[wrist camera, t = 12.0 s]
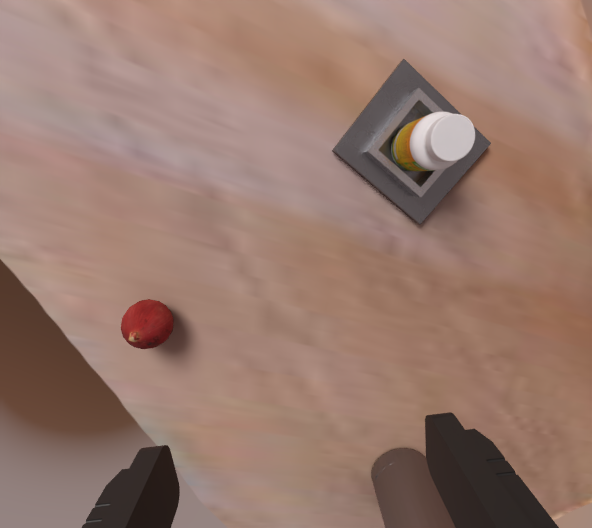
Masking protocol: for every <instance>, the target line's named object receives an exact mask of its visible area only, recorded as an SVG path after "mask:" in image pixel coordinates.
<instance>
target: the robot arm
mask: <svg viewBox="0 0 592 528" xmlns="http://www.w3.org/2000/svg"><path fill="white" fill-rule="evenodd" d="M425 432H426V458H425V457H424V455H422V454H421V453H420V452H418V451H415V450H413V449H408V448H400V449H394V450H391V451H389V452H387V453H385V454H383V455H382V456H381V457H379V458H378V460H377V461H376V462H375V464H374V466H373V468H372V472H371V478H372V481H373V485H374V489H375V492H376V496H377V500H378V504H379V507H380V511H381V514H382V518H383V521H384V525H385V528H559V527H558V526H557V525H556V524H555V522H554V521H553V520H552V518H551V517H550V516H549V514H548V513H547V512H546V511H545V509H544V508H543V507H542V505H541V504H540V503H539V502H538V500H537V499H536V498H535V496H534V495H533V494H532V493H531V491H530V490H529V489H528V487H527V486H526V485H525V483H524V482H523V481H522V480H521V478H520V477H519V476H518V475H516V473H515V471H514V469H513V468H512V467H511V465H510V464H509V463H508V462H507V461H505V458H504V456H503V455H502V454H501V452H500V451H499V450H498V449H497V447H496V446H495V445H494V443H493V442H492V441H491V440H489V439H488V438H486V437H485V436H484V435H482V434H481V433H480V432H478V431H477V430H475V429H470V430H465V429H464V428H463V426H462V425H461V424H460V422H459V421H458V419H457V418H456V417H455V415H454V414H453V413H442V414H433V415H427V416H426V418H425ZM178 502H179V482H178V478H177V474H176V470H175V467H174V463H173V459H172V455H171V451H170V448H169V447H168V446H167V445H164V446H155V447H147V448H142V449H140V450H139V452H138V454H137V455H136V457H135V459H134V461H133V463H132V465H131V466H130V468H129V469H122V470H121V471H120V472H119V473H118V474H117V475H116V476H115V477H114V478H113V479H112V480H111V482H110V483H108V485H107V486H106V487H105V489H104V490H103V492H102V494H101V496H100V497H99V499H98V501H97V502H96V504H95V508H93V509H92V511H91V513H90V514H89V516H88V518H87V519H86V524H84V525H83V526H82V528H171V524H172V522H173V519H174V516H175V513H176V510H177V507H178Z"/></svg>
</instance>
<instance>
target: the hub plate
mask: <svg viewBox="0 0 592 528" xmlns="http://www.w3.org/2000/svg"><path fill="white" fill-rule="evenodd" d="M435 112H449V113H452V114H460V113H459V112H458V111H457V110H456V109H455V108H454V107H453V106H452V105H451V104H450V103H449V102H448V101H447V100H446V99H445V98H444V97H443V96H442V95H441V94H440V93H439V92H438V91H437V90H436V89H435V88H433V87H432V86H431V85H430V84H429V83H428V82H427V81H426V80H425V79H424V78H423V77H422V76H421V75H420V74H419V73H418V72H417V71H416V70H415V69H414V68H413V67H412V66H411V65H410V64H409V63H408V62H407V61H406V60H405V59H403V60H402V61H401V62H400V63H399V65H398V66H397V67H396V69H395V70H394V71H393V72H392V74H391V75H390V76H389V78H388V79H387V80H386V81H385V83H384V84H383V85H382V87H381V88H380V89H379V90H378V92H377V93H376V94H375V96H374V97H373V98H372V100H371V101H370V102H369V103H368V105H367V106H366V107H365V109H364V110H363V111H362V112H361V114H360V115H359V116H358V118H357V119H356V120H355V122H354V123H353V124H352V125H351V127H350V128H349V129H348V131H347V132H346V133H345V134H344V136H343V137H342V138H341V140H340V141H339V142H338V143H337V145H336V146H335V147H334V149H333V150H332V151H333V152H334V153H335V154H337V155H338V156H339V157H340V158H341V159H343V160H344V161H345V162H346V163H347V164H348V165H350V166H351V167H352V168H353V169H354V170H355V171H357V172H358V173H359V174H360V175H361V176H362V177H364V178H365V179H366V180H367V181H368V182H369V183H371V184H372V185H373V186H374V187H375V188H376V189H378V190H379V191H380V192H381V193H382V194H383V195H385V196H386V197H387V198H388V199H389V200H390V201H392V202H393V203H394V204H395V205H396V206H397V207H399V208H400V209H401V210H402V211H403V212H404V213H406V214H407V215H408V216H409V217H410V218H412V219H413V220H414V221H415V222H416V223H418V224H421V223H422V222H423V220H424V219H425V218H426V217H427V216H428V215H429V214H430V213H431V211H432V210H433V209H434V208H435V207H436V206H437V205H438V203H439V202H440V201H441V200H442V199H443V198H444V197H445V195H446V194H447V193H448V192H449V191H450V190H451V189H452V187H453V186H454V185H455V184H456V183H457V182H458V181H459V179H460V178H461V177H462V176H463V175H464V174H465V173H466V171H467V170H468V169H469V168H470V167H471V166H472V165H473V163H474V162H475V161H476V160H477V159H478V158H479V157H480V155H481V154H482V153H483V152H484V151H485V150H486V149H487V147H488V146H489V145H490V144H491V143H490V142H489V141H488V140H487V139H486V138H485V137H484V136H483V135H482V134H481V133H480V132H479V131H478V130H477V129H476V128H475V127H474V129H475V141H474V144H473V146H472V148H471V150H470V151H469V153H468V154H467V155H466V156H464V157H463V158H461V159H459V160H458V161H457V162H456V163H454V164H453V165H452V166H450V167H448V168H446V169H442V170H436V171H407V170H404V169H402V168H400V167H399V166H398V165H397V164H396V163H395V161H394V160H393V157H392V154H391V144H392V140H393V138H394V136H395V134H396V133H397V131H398V130H399V129H400V128H402V127H403V126H404V125H406V124H408V123H410V122H413V121H415V120H417V119H420V118H422V117H424V116H427V115H429V114H432V113H435ZM460 115H461V114H460Z"/></svg>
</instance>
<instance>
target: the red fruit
mask: <svg viewBox="0 0 592 528" xmlns="http://www.w3.org/2000/svg"><path fill="white" fill-rule="evenodd" d="M172 330H173V317H172V313H171V311H170V310H169V309H168V308H167V306H166V305H164V304H163V303H161V302H159V301H155V300H150V299H148V300H142V301H139V302H137V303H136V304H134V305H133V306H131V307H129V309H128V310H127V312H126V313H125V315H124V316H123V318H122V323H121V331H122V334H123V337H124V338H125V340H126V341H127V342H128V343H129V344H130V345H132V346H134V347H136V348H140V349H148V348H154V347H156V346H158V345H160V344H161V343H163V342H165V341H166V340H167V339H168V337H169V335H170V334H171V332H172Z"/></svg>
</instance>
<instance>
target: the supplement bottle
mask: <svg viewBox="0 0 592 528" xmlns="http://www.w3.org/2000/svg"><path fill="white" fill-rule="evenodd" d="M474 141H475V129H474V126H473V124H472V122H471V121H470V120H469V119H468V118H467V117H465V116H463V115H460V114H452V113H449V112H435V113H432V114H429V115H427V116H424V117H422V118H420V119H417V120H415V121H413V122H410V123H408V124H406V125H404V126H403V127H402V128H400V129H399V130H398V131H397V133H396V134H395V136H394V138H393V140H392V144H391V154H392V157H393V160H394V161H395V163H396V164H397V165H398V166H399V167H400V168H402V169H404V170H407V171H436V170H442V169H446V168H448V167H450V166H452V165H453V164H454V163H456V162H457V161H458V160H459V159H461V158H463V157H464V156H466V155H467V154H468V153H469V151H470V150H471V148H472V146H473V144H474Z"/></svg>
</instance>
